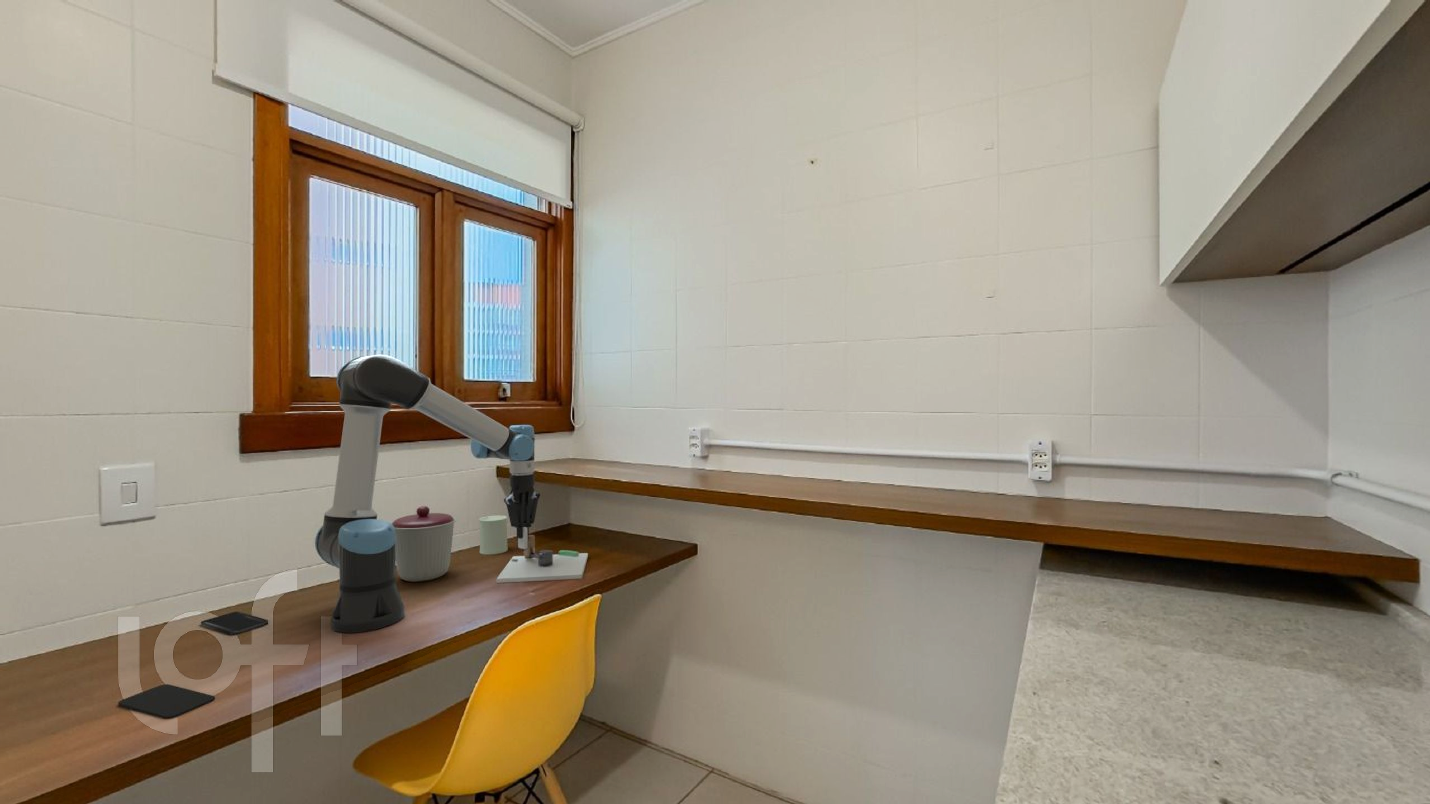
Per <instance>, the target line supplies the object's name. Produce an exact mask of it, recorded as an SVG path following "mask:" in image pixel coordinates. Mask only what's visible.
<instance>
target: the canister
mask: <svg viewBox="0 0 1430 804" xmlns="http://www.w3.org/2000/svg"><path fill="white" fill-rule="evenodd" d="M415 512H416V514H411V515H405V516H402V517H398V518H397V519H395V520H393V522H390V523H391V524H392V525H393V526H394V529H395V536H396V541H395V557H396V569H397V573H398V576H399V578H400V579H401V580H403V581H406V582H426V581H431V580H435V579H438V578H440V577H442V576H444V575H445V574H446V573H447V572H448V570H449V568H450V563H451V562H450V561H451V556H452V555H451V554H452V547H453V537H454V528H455V527H454V525H455V523H456V522H457V518H456V517H455V516H452V515H450V514H447V513H443V512H442V513H440V512H430V508H429V507H428V506H427V505H425V506H423V505H422V506H418V508H416V511H415Z"/></svg>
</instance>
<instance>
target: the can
mask: <svg viewBox="0 0 1430 804" xmlns="http://www.w3.org/2000/svg"><path fill="white" fill-rule="evenodd" d="M478 521H479V554H481V555H486V556H487V555H490V556H491V555H498V554H503V553H505V552H508V550H509V549H508V516H507V515H488V516H483V517H479V519H478Z"/></svg>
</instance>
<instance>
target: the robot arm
mask: <svg viewBox="0 0 1430 804" xmlns="http://www.w3.org/2000/svg"><path fill="white" fill-rule="evenodd" d="M336 385H337V388H338V391H340V396H339V403H338V407H340V408H341V409H342V411H343V412H344V420H343V427H342V433H341V434H342V435H341V441H340V450H339V456H338V464H337V472H336V480H335V486H334V495H333V502H332V507H331V508H329V509H328V510H327V511H326V512H324V516H323V521H322V522H323V525H322V526H321V527H320V528H319V529H318V531H317V533H316V535H315V538H314V547H315V550H316V552H317V554H318V556H319V557H320V558H321V560H322V561H324V562H325V564H328V565H330V566H332V567H336V568H337V569H339V573H338V574H339V594H338V597H337V600H336V604H335V606H334V609H333V612H332V615H331V620H330V621H331V624H330V625H331V630H333V631H335V632H338V633H348V634H349V633H350V634H351V633H353V634H354V633H362V632H368V631H373V630H378V629H382V628H385V627H388V626H391V625H393V624H395V623H398V622H399V621H401V620H402V619H403V618H404V617H405V604H404V602H403V598H402V597H401V594H400V592H399V589H398V587H397V586H398V585H397V579H396V575H397V574H396V573H397V572H396V569H397V565H396V557H395V541H396V536H395V529H394V526H393V525H392V524H391V523H392V522H390V521H388V520H384V519H378V513H377V511H375V509H373V507H372V506H373V497H374V491H375V490H374V489H375V482H376V476H377V475H376V474H377V468H378V458H379V450H380V443H381V434H382V427H383V421H384V420H383V419H384V416H385V415H386V414H387V413H389V412H390V411H391V408H392V404H394V405H397V406H399V407H401V408H403V409H406V410H407V411H410V410H416V411H418V412H420V413H421V414H424V415H425V416H427V417H429V418H431V419H433V420H434V421H436V422H438V423H440V424H442V425H444V426H446V427H448V428H450V429H452V430H453V431H456V432H458V433H460V434H461V435H463V436H465V437H467V438H469V439H471V441H470V450H471V451H470V452H471V454H472V456H473V457H474V458H476V459H486V460H487V459H492V458H493V459H501V460H508V461H509V473H510V475H509V485H510V488H511V490H510V493H509V496H508V497H505V498H504V499H503V502H504V503H505V505H506V509H507V514H508V518H509V522H510V526H511V527H513V528H515V529H516V539H518V540H517V543H518V544H517V546H518V549H523V550H524V549H526V548H528V536H529V535H530V534H529V533H530V528H531V527H532V525H533V524H534V523H535V518H536V514H537V507H538V502H539V499H540V497H541V493H539V492H536V491H535V488H534V486H535V484H536V481H535V480H536V478H535V477H536V475H535V472H536V471H535V447H536V446H535V441H536V439H535V429H534V426H532V425H531V424H517V425H516V424H515V425H510V426H509V428H508V427H506V426H504V425H503V424H501V423H500V422H498V421H496V420H494V419H492V417H489V416H487V415H486V414H484V413H483V412H481V411H479V410H477V409H475V408H474V407H472V406H471V405H469V404H467V403H465V402H463V401H462V400H460V399H458V398H457V397H455V396H453V395H452V394H450V393H448V392H447V391H444V390H443V389H442V388H440V387H438V386H437V385H434V384H432V382H431V379H430V377H428V376H426V375H425V374H423V373H421V372H420V371H419V370H416V369H415V368H414V367H412V366H411V365H409V364H407V363H405V362H403V360H402V361H401V360H400V359H398V358H396V357H393V356H390V355H386V354H374V355H363V356H362V355H361V356H358V357H354V358H352V359H351V360H349V361H347V362H346V363H344V364H343V365H342V366H341V367H340V369H339V370H338V372H337V376H336Z"/></svg>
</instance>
